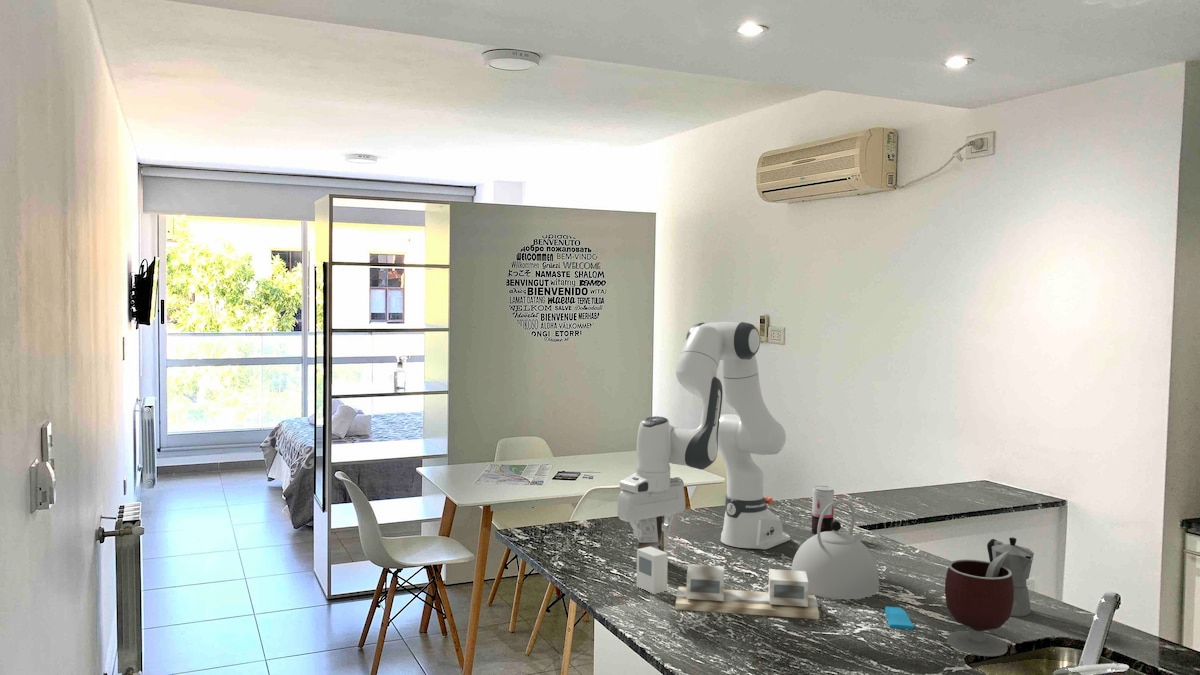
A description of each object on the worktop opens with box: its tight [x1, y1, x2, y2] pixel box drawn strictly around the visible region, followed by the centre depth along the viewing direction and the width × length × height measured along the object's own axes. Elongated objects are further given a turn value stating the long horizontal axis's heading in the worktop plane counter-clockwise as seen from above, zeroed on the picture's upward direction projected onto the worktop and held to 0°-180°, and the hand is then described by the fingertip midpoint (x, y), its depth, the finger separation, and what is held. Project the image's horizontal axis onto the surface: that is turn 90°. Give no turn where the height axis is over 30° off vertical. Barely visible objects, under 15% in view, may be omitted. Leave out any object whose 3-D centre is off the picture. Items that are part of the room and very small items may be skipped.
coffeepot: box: [986, 537, 1035, 618], centre depth 213 cm, size 15×9×18 cm, turn 13°
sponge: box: [884, 606, 915, 630], centre depth 205 cm, size 2×12×6 cm
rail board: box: [674, 563, 820, 620], centre depth 213 cm, size 34×12×8 cm, turn 81°
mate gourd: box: [944, 551, 1014, 657], centre depth 191 cm, size 16×14×20 cm
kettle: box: [791, 499, 880, 601], centre depth 229 cm, size 25×23×22 cm
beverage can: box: [811, 485, 835, 536], centre depth 275 cm, size 6×6×15 cm
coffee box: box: [637, 516, 665, 552], centre depth 244 cm, size 9×6×16 cm
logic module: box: [636, 546, 669, 595], centre depth 224 cm, size 5×7×10 cm, turn 36°
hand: (651, 533), depth 223 cm, fingers open, 8 cm apart
